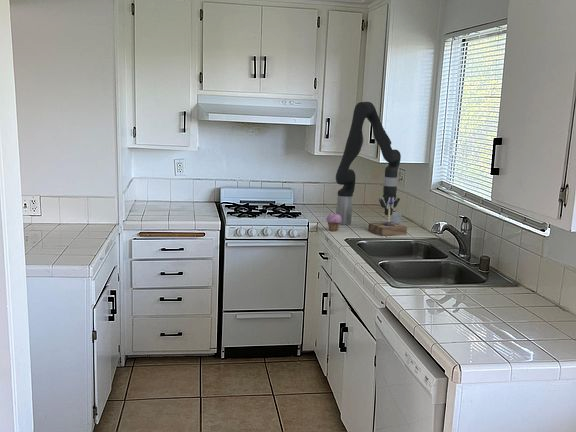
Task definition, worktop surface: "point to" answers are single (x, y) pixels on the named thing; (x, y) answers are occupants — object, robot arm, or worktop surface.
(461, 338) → the worktop surface
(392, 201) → the toy lamp
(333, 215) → the cupcake
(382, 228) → the socket block
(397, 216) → the medicine box
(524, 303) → the worktop surface
